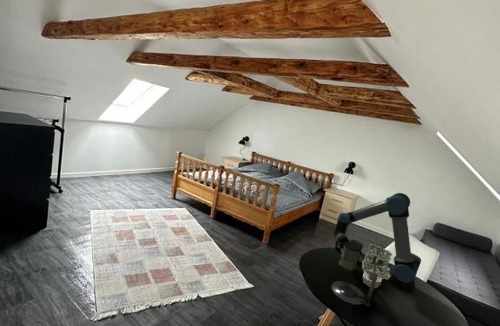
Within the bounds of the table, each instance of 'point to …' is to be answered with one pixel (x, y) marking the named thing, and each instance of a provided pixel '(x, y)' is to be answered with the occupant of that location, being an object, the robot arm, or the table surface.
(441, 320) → the table surface
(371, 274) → the gauge stand
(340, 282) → the turntable
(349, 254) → the coffee can
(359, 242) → the pillar candle
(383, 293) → the table surface
